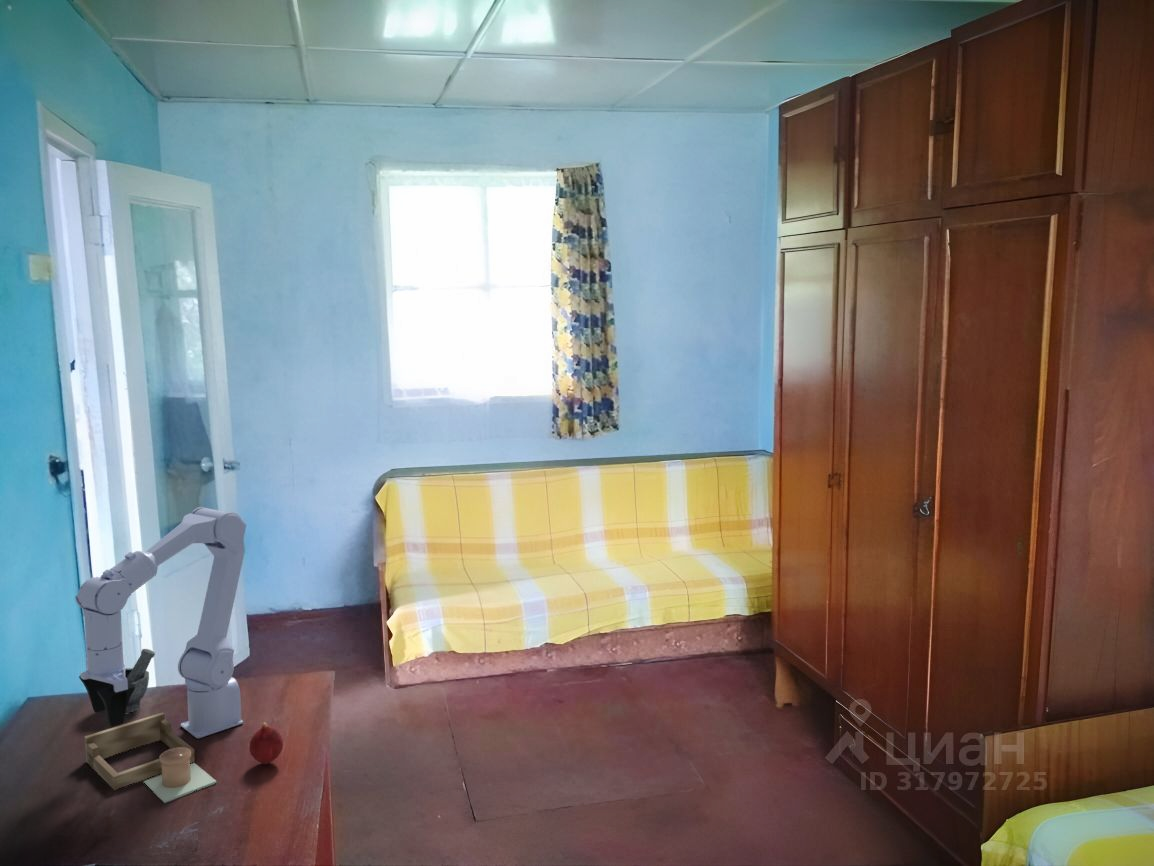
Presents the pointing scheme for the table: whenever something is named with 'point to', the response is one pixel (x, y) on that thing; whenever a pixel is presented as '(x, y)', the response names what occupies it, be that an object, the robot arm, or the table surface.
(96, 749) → the wooden frame
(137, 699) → the mortar and pestle
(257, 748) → the onion
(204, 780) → the mat
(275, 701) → the table surface
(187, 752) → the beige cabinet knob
